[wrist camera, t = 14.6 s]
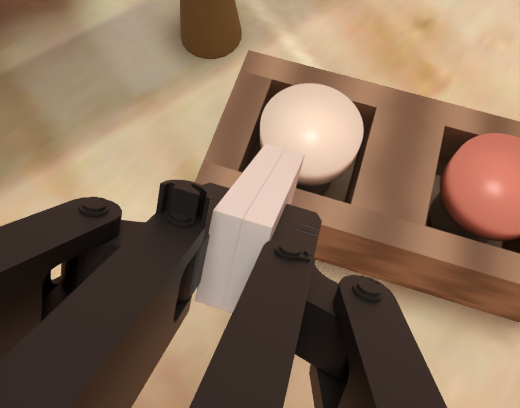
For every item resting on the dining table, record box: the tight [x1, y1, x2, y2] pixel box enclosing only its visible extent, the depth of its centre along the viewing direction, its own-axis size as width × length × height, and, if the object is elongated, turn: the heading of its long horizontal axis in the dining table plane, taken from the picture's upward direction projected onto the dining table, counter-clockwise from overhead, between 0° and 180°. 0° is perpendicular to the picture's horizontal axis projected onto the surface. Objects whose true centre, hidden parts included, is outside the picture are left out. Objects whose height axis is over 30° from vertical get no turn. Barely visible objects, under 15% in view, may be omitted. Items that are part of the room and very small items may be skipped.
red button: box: [430, 133, 520, 243], centre depth 34 cm, size 7×7×7 cm
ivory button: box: [260, 83, 363, 195], centre depth 35 cm, size 7×7×7 cm
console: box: [195, 51, 520, 322], centre depth 36 cm, size 26×12×8 cm, turn 72°
